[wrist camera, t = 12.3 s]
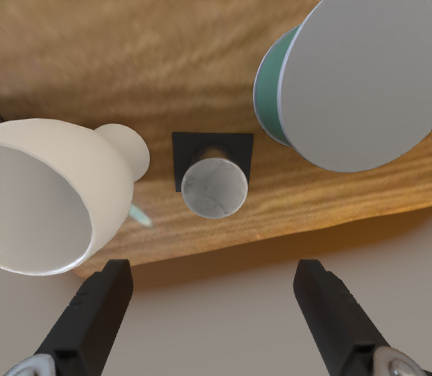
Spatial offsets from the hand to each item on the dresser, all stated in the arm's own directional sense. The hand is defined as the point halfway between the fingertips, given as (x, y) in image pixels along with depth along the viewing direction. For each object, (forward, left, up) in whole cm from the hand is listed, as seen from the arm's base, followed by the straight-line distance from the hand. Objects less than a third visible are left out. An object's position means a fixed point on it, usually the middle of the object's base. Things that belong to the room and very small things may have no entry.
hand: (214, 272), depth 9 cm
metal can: (0, 0, -18) cm, 18 cm away
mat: (0, 0, -18) cm, 18 cm away
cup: (-12, +1, -19) cm, 22 cm away
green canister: (+11, +9, -18) cm, 23 cm away
